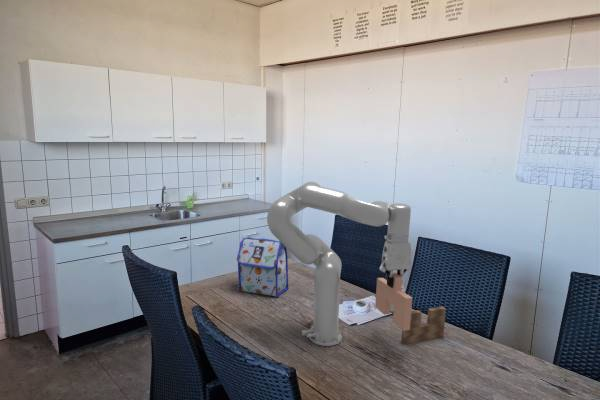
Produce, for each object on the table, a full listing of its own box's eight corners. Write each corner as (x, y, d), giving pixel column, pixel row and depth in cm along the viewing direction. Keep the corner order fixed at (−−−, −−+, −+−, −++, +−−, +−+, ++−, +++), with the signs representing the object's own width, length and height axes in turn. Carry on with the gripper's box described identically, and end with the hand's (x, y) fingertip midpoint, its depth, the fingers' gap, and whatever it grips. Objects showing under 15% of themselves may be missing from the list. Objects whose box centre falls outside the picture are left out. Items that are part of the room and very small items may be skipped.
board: (404, 344, 153) (406, 314, 151) (401, 341, 155) (403, 312, 153) (443, 337, 159) (445, 308, 157) (440, 334, 161) (442, 306, 159)
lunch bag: (234, 293, 198) (233, 240, 193) (249, 282, 213) (249, 232, 209) (276, 300, 190) (277, 246, 186) (289, 288, 206) (290, 237, 201)
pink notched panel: (409, 330, 142) (413, 284, 139) (403, 330, 141) (407, 284, 138) (380, 306, 161) (383, 265, 158) (375, 307, 160) (378, 266, 157)
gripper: (383, 241, 139) (379, 292, 143) (422, 239, 145) (418, 287, 148) (372, 236, 146) (369, 284, 150) (410, 234, 152) (406, 280, 155)
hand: (393, 285), depth 149 cm, fingers closed on pink notched panel, 2 cm apart
